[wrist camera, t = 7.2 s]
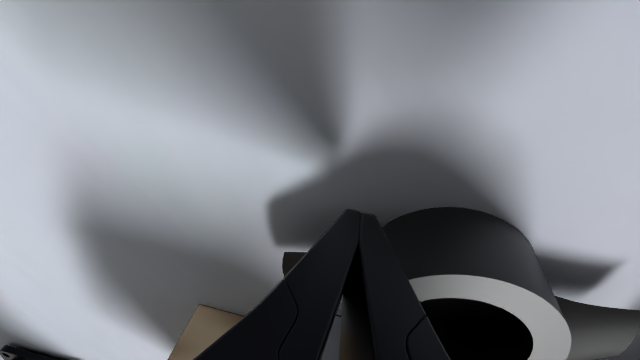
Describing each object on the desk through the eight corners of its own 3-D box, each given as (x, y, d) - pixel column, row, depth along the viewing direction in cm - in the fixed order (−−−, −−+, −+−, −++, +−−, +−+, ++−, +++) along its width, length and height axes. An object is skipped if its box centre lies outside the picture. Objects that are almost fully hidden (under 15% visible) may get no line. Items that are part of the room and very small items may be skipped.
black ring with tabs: (430, 100, 9) (441, 153, 7) (640, 297, 11) (705, 389, 9) (273, 242, 13) (246, 306, 11) (450, 365, 15) (459, 440, 13)
